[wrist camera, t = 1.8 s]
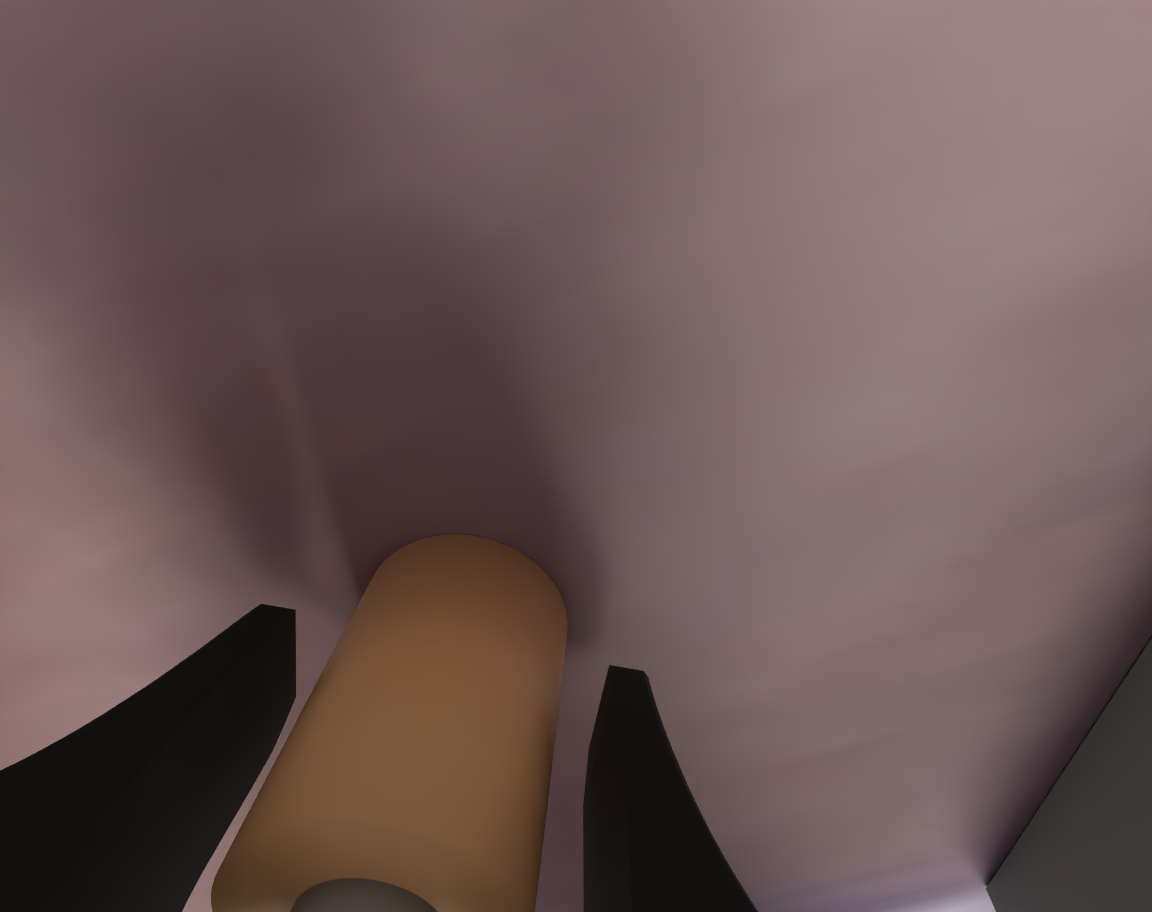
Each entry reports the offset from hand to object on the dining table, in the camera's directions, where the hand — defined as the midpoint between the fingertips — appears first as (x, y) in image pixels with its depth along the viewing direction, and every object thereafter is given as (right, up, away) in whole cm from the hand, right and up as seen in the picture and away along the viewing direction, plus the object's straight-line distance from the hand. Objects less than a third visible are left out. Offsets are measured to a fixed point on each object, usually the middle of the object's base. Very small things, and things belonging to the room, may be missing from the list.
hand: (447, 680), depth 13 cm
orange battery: (0, +1, +1) cm, 2 cm away
